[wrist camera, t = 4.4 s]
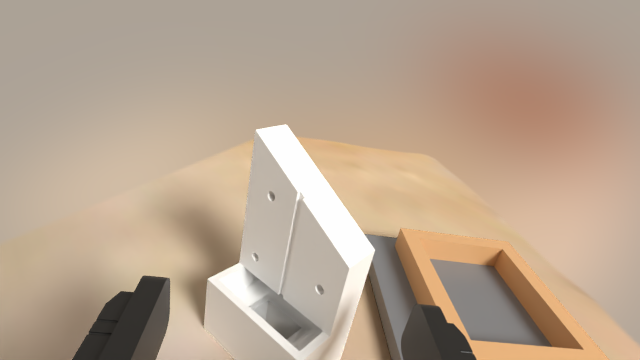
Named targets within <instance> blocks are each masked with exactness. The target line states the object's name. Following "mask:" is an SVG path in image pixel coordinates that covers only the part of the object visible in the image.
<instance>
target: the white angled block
mask: <svg viewBox="0 0 640 360" xmlns="http://www.w3.org/2000/svg"><path fill="white" fill-rule="evenodd" d="M374 252H375V249H374V248H373V246H372V245H371V243H370V242H369V241H368V239H367V238H366V236H365V235H364V233H363V232H362V231H361V229H360V228H359V226H358V225H357V224H356V222H355V221H354V219H353V218H352V216H351V215H350V214H349V212H348V211H347V209H346V208H345V206H344V205H343V204H342V202H341V201H340V199H339V198H338V197H337V195H336V194H335V192H334V191H333V189H332V188H331V187H330V185H329V184H328V182H327V181H326V180H325V178H324V177H323V175H322V174H321V172H320V171H319V170H318V168H317V167H316V165H315V164H314V163H313V161H312V160H311V158H310V157H309V155H308V154H307V153H306V151H305V150H304V148H303V147H302V146H301V144H300V143H299V141H298V140H297V138H296V137H295V136H294V134H293V133H292V132H291V130H290V129H289V127H288V126H287V124H286V125H280V126H275V127H269V128H263V129H257V130H255V138H254V146H253V154H252V163H251V171H250V179H249V187H248V195H247V204H246V212H245V220H244V228H243V237H242V245H241V253H240V261H239V263H238V264H236V265H234V266H232V267H230V268H228V269H226V270H224V271H222V272H220V273H218V274H216V275H214V276H212V277H210V278H208V279H207V291H206V304H205V318H204V329H205V330H206V331H207V332H208V333H209V334H210V335H211V336H212V337H213V338H214V339H215V340H216V341H217V342H218V343H219V344H220V345H221V346H222V347H223V348H224V349H225V350H226V351H227V352H228V353H229V354H230V356H231V357H232V358H233V359H234V360H340V359H341V356H342V353H343V350H344V347H345V344H346V340H347V337H348V334H349V331H350V328H351V325H352V321H353V318H354V315H355V312H356V309H357V306H358V303H359V299H360V296H361V293H362V290H363V287H364V284H365V280H366V277H367V274H368V271H369V268H370V265H371V262H372V258H373V255H374Z"/></svg>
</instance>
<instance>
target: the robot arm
mask: <svg viewBox="0 0 640 360" xmlns="http://www.w3.org/2000/svg"><path fill="white" fill-rule="evenodd" d="M169 313H170V279H169V278H164V277H154V276H143V277H142V278H141V280H140V282H139V284H138V286H137V287H136V289H135V291H134V292H124V291H121V292H120V293H118V294H117V295H116V296H115V297H113V298H112V299H111V300H110V301H109V302H107V303H106V304H105V306H104V308H103V309H102V311H101V313H100V314H99V316H98V318H97V321H96V322H95V323H94V324H93V326H92V328H91V329H90V331H89V334H88V335H87V336H86V338H85V339H84V341H83V343H82V344H81V346H80V347H79V349H78V351H77V352H76V354H75V356H74V357H73V359H72V360H156V357H157V355H158V352H159V349H160V347H161V344H162V341H163V339H164V336H165V333H166V330H167V326H168V321H169ZM401 352H402V357H403V360H477V359H476V357H475V355H474V354H473V351H472V349H471V347H470V345H469V343H468V341H467V339H466V337H465V336H464V335H463V333H462V332H461V331H460V330H459V329H458V328H457V327H456V326H455V325H454V323H447V320H446V318H445V316H444V314H443V312H442V310H441V308H440V307H439V306H435V305H425V304H415V305H414V307H413V309H412V312H411V314H410V316H409V319H408V321H407V324H406V326H405V329H404V331H403V334H402V338H401Z"/></svg>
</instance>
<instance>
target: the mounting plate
mask: <svg viewBox="0 0 640 360" xmlns="http://www.w3.org/2000/svg"><path fill="white" fill-rule="evenodd" d="M364 235H365V236H366V238H367V239H368V241H369V242H370V243H371V245H372V246H373V248H374V249H375V252H374V255H373V258H372V262H371V265H370V268H369V271H368V273H369V277H370V281H371V284H372V288H373V292H374V295H375V299H376V303H377V307H378V310H379V314H380V318H381V322H382V325H383V329H384V333H385V336H386V340H387V344H388V348H389V351H390V355H391V359H392V360H403V357H402V352H401V338H402V334H403V331H404V329H405V326H406V324H407V321H408V319H409V316H410V314H411V312H412V309H413V307H414V305H415V304H425V305H435V306H439V307H440V308H441V310H442V312H443V314H444V316H445V318H446V320H447V323H454V325H455V326H456V327H457V328H458V329H459V330H460V331H461V332H462V333H463V335H464V336H465V337H466V339H467V341H468V343H469V345H470V347H471V349H472V351H473V354H474V355H475V357H476V359H477V360H609V359H608V358H607V356H606V355H605V354H604V353H603V352H602V351H601V349H600V348H599V347H598V346H597V345H596V344H595V342H594V341H593V340H592V339H591V338H590V337H589V335H588V334H587V333H586V332H585V331H584V330H583V328H582V327H581V326H580V325H579V324H578V323H577V321H576V320H575V319H574V318H573V317H572V316H571V314H570V313H569V312H568V311H567V310H566V309H565V307H564V306H563V305H562V304H561V303H560V302H559V300H558V299H557V298H556V297H555V296H554V295H553V293H552V292H551V291H550V290H549V289H548V288H547V286H546V285H545V284H544V283H543V282H542V281H541V279H540V278H539V277H538V276H537V275H536V274H535V272H534V271H533V270H532V269H531V268H530V267H529V265H528V264H527V263H526V262H525V261H524V260H523V258H522V257H521V256H520V255H519V254H518V253H517V251H516V250H515V249H514V248H513V247H512V246H511V244H510V243H509V242H506V241H498V240H490V239H482V238H475V237H467V236H459V235H451V234H443V233H435V232H428V231H420V230H412V229H404V228H401V229H400V232H399V235H398V238H392V237H384V236H376V235H367V234H364Z"/></svg>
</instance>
